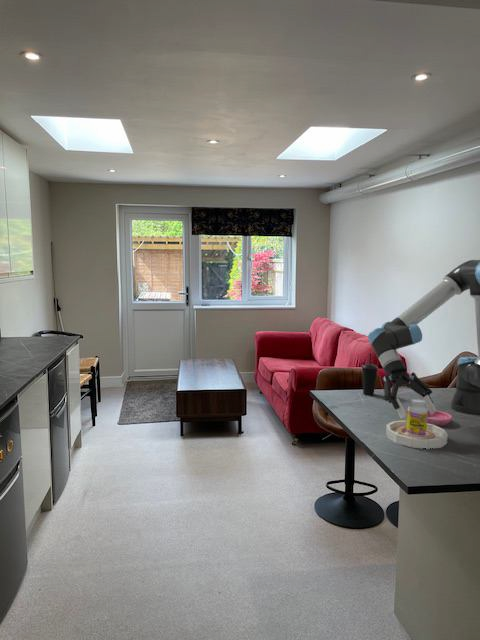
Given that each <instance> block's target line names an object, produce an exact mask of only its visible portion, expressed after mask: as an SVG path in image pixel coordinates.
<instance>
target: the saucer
mask: <svg viewBox="0 0 480 640" xmlns="http://www.w3.org/2000/svg"><path fill="white" fill-rule="evenodd" d="M427 410H428V409H427ZM452 420H453V416H452V414H449V413H448V412H444V411H441V410H437V411H436V412H435V413H433V414H430V412H429V410H428V414H427V423H428V424H433V425H435V426H438V427H440V426H441V427H442V426H448V424H449V423H450V422H452Z"/></svg>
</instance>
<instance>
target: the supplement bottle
mask: <svg viewBox="0 0 480 640" xmlns="http://www.w3.org/2000/svg"><path fill="white" fill-rule="evenodd" d="M410 403H411V405H410V404H409V406H408V407H407V413H406V414H407V415H406V416H407V417H406V420H407V427H406V433H407V434H408V435H410V436H415V437H424V436H425V435H426V427H427V414H428V408H427V407H426V405H425V400H423V399H422V398H418V397H417V398H414V397H413V398H411V401H410Z"/></svg>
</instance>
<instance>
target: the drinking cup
mask: <svg viewBox="0 0 480 640" xmlns="http://www.w3.org/2000/svg"><path fill="white" fill-rule="evenodd" d="M368 360H369V361H368V362H369V363H366V364H362V365H361V372H362V373H361V374H362V394H363V395H364V394H365V395H364V396H367V395H370V397H372V396H374V394H375V390H376V389H375V387H376V381H377V380H376V379H377V374H378V369H379V367H378V366H377V365H375V364H374V363H372V353H371V352H370V353H369V359H368Z"/></svg>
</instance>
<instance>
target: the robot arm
mask: <svg viewBox="0 0 480 640" xmlns="http://www.w3.org/2000/svg"><path fill="white" fill-rule="evenodd" d="M468 290H469V296H470V297H471V298H472V299H474V309H475V310H474V311H475V323H476V339H477V340H476V341H477V342H476V343H477V355H478V356H461V357H459V358H458V361H457V365H456V366H457V370H456V371H457V373H456V385H455V386H456V387H455V392H454V394H453V395H452V399H451V400H450V408H451V409H453V410H455V411H457V412H461V413H465V414H472V415H480V259H470V260H466V261H465V262H462V263H461V264H460V265H458V266H457V267H455V268H453V270H451V271H450V272H449V273H447V274H446V275H445V276H444V277H443V278H442V281H440V283H438V285H436V286H435V287H433V288H432V289H431V290H429V291H428V292H427V293H426V294H425V295H423V296H422V297H421V298H419V299H418V300H417V301H416V302H415V303H413V304H412V305H411V306H410V307H408V308H406V309H405V310H404V311H403V312H402V313H400V314H399V315H398V316H397V317H395V318H394V319H393V320H392V321H386V322H383V324H382V325H381V326H380V327H377V328H375V329H373V330H371V331H370V332H369V333H368V335H367V338H368V342H369V343H370V347H371V348H372V349H373V351H374V353H375V356H376V357H377V359H378V361H379V363H380V365H381V366H382V368H383V371H384V373H385V375H384V377H383V378H382V381H383V382H382V383H383V388H384V391H383V392H384V393H383V394H384V400H385V401H386V402H388V403H389V404H392V406H393V408H394V410H396V413H397V414H398V415H399V417H400V419H401V420H403V419H404V418H405V417H406V416H407V414H408V413H406V410H405V408H404V407H403V405H402V402H401V400H400V399H399V398H397V395H398V391H399V388H402V387H403V388H404V387H406V388H407V389H411V390H412V391H414V392H415V393H416V394H418V395H419V396H421V397H422V398H421V399H423V400H425V405H424V406H425V407H426V408H427V410H429V412H430V414H433V413H435V412H436V411H438V410H437V409H436V407H435V405H434V401H433V399H432V398H431V394H432V393H433V390H432V389H431V388H429V386H427V385H426V384H425V382H423V381H422V380H421V379H420V378H419V377H418V376H417V374H416V373H415V372H412V373H408V372H407V367H406V365H405V364H404V362H403V360H402V358H401V356H400V354H399V352H398V350H399V349H401V348H402V349H403V348H405V347H409V346H412V345H413V346H414V345H415V344H418V343H420V342H422V340H423V333H422V330H421V328H420V327H419V325H418V324H419V323H421V322H422V321H423V320H425V319H426V318H427V317H429V316H430V315H431V314H432V313H434V312H435V311H437V310H438V309H439V308H440V307H441V306H443V305H444V304H445V303H447V302H448V301H449V300H451V298H453V297H455V296H456V295H457V296H459V295H462V293H464V292H466V291H468ZM391 384H392V386H391Z"/></svg>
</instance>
